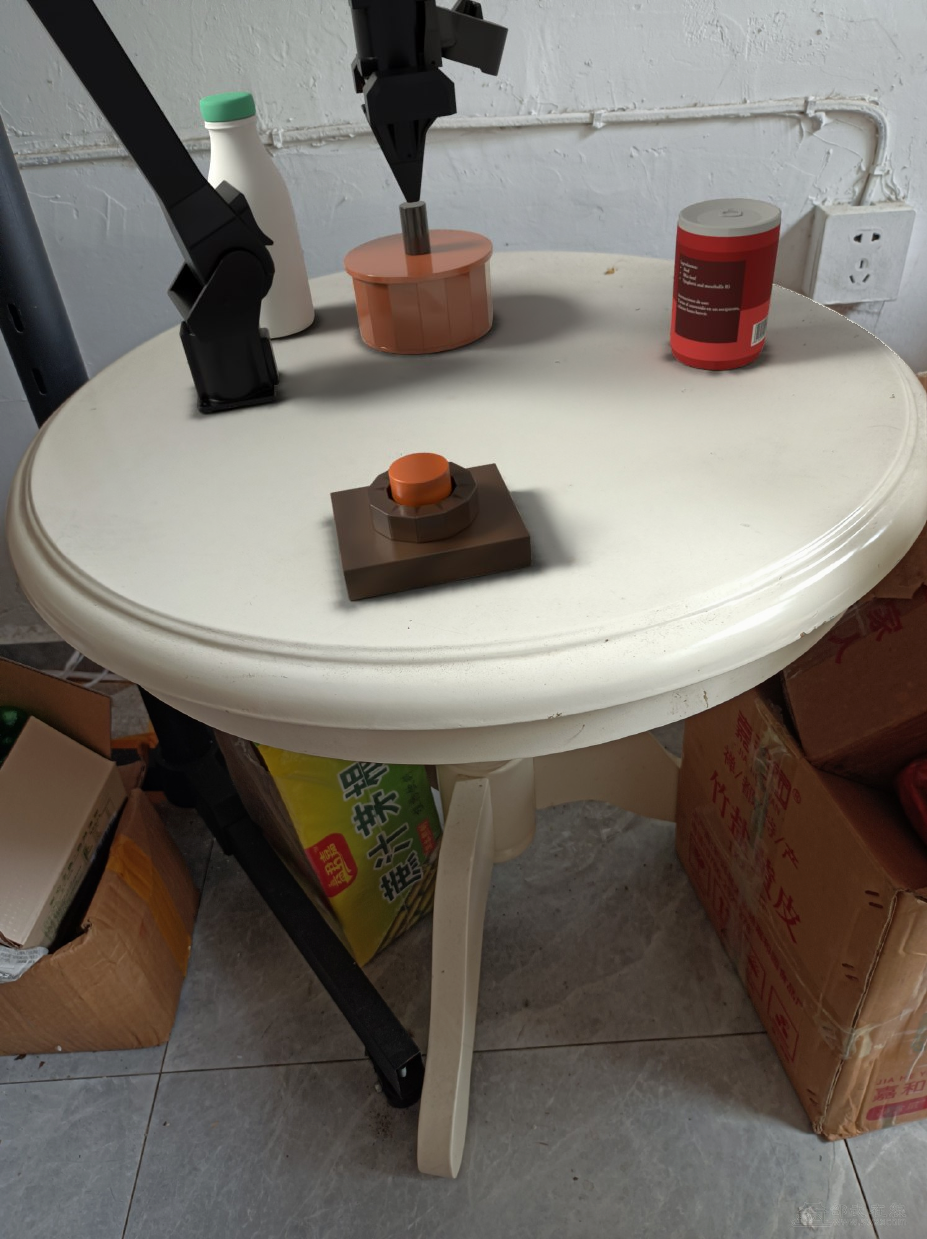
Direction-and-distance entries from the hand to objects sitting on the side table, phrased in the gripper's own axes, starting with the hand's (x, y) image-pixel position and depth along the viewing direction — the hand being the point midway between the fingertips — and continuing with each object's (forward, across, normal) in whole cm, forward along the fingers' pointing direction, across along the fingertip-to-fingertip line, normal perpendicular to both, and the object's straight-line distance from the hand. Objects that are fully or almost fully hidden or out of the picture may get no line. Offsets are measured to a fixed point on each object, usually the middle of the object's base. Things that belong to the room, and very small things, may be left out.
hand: (413, 201), depth 72 cm
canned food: (+12, -12, -23) cm, 28 cm away
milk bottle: (+12, +10, +14) cm, 21 cm away
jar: (+12, +4, 0) cm, 13 cm away
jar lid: (+6, +4, 0) cm, 7 cm away
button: (+8, -33, +4) cm, 34 cm away
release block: (+12, -33, +4) cm, 35 cm away
